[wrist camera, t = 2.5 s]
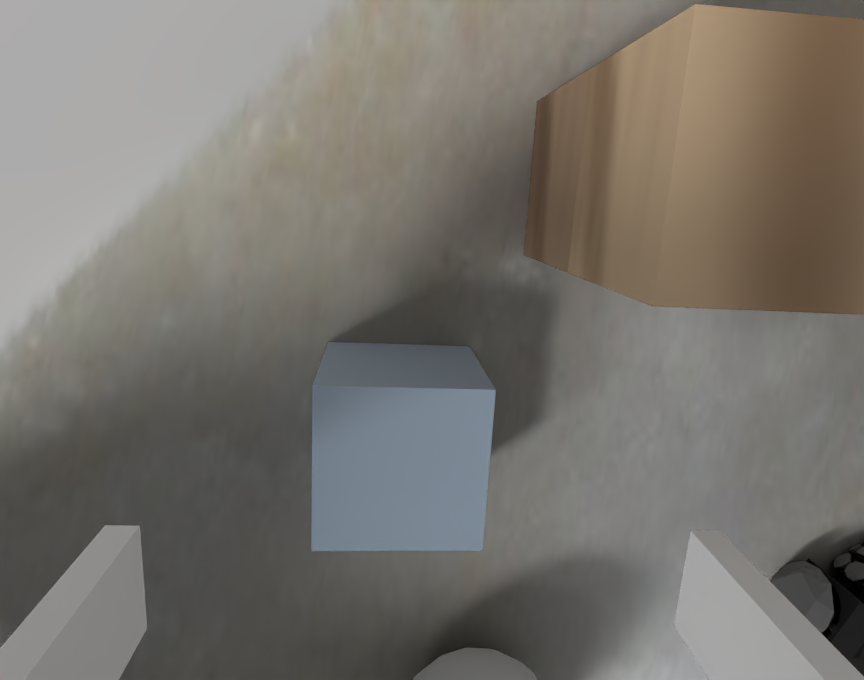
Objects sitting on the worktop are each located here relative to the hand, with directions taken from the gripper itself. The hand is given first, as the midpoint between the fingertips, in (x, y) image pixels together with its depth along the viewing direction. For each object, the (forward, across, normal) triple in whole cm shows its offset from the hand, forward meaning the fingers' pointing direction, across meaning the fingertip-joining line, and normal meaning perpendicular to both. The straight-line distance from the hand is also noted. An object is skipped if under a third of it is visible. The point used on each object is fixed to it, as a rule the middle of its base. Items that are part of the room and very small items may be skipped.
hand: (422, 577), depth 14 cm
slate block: (+12, 0, 0) cm, 12 cm away
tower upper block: (+6, +8, +10) cm, 14 cm away
